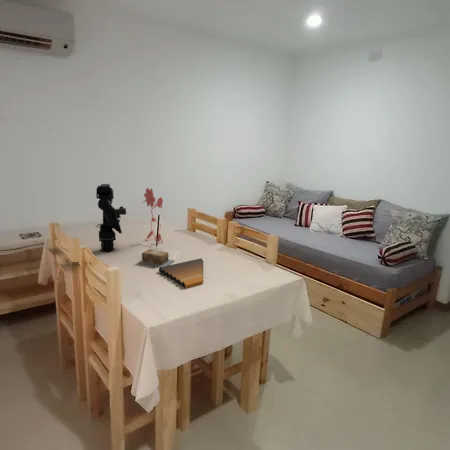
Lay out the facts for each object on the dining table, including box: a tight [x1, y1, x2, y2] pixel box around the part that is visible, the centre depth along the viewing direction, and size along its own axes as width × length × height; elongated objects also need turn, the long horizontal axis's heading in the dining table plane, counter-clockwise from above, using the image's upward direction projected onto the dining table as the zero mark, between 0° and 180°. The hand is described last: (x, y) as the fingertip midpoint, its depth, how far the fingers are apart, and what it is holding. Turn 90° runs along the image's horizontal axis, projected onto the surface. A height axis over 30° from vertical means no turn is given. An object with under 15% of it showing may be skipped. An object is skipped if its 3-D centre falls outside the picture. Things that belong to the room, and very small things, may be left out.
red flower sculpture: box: [138, 187, 164, 248], centre depth 225 cm, size 15×26×35 cm, turn 38°
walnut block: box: [141, 248, 169, 265], centre depth 194 cm, size 5×7×12 cm
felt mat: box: [141, 259, 175, 268], centre depth 194 cm, size 14×11×1 cm
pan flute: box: [158, 257, 205, 289], centre depth 180 cm, size 25×3×25 cm
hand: (121, 233), depth 200 cm, fingers closed
